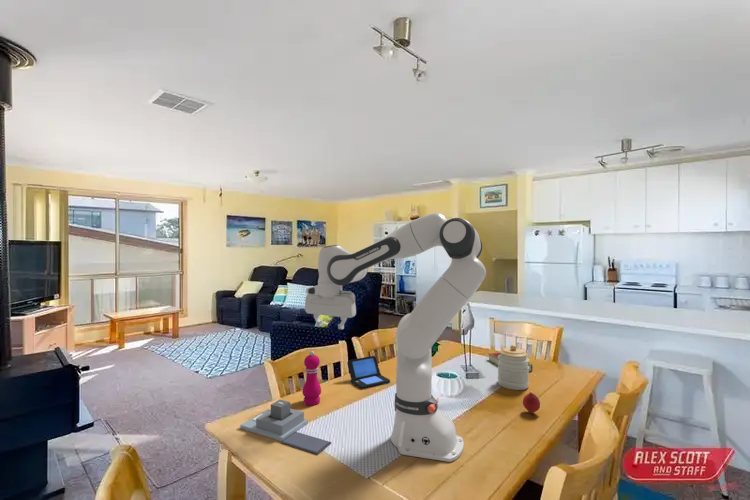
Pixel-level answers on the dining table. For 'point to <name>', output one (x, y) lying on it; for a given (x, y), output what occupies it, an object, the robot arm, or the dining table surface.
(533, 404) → the onion
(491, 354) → the hardcover book
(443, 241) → the robot arm
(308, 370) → the pepper mill
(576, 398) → the dining table surface
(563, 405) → the dining table surface
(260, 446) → the dining table surface
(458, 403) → the dining table surface
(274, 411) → the dark grey block
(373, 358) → the handheld game console
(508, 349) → the jar
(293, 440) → the plate
